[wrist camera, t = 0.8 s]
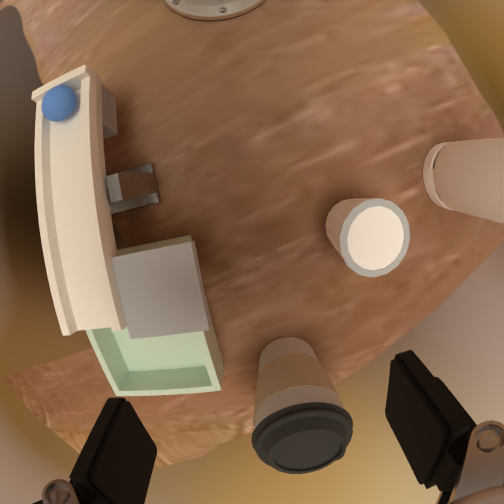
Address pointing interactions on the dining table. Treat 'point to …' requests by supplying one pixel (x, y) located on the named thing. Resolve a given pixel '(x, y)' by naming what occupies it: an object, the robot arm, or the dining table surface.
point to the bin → (159, 354)
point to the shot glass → (368, 234)
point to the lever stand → (132, 188)
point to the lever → (103, 231)
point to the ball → (58, 103)
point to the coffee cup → (297, 410)
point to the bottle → (467, 177)
